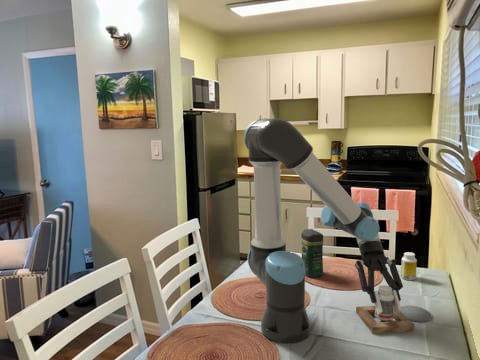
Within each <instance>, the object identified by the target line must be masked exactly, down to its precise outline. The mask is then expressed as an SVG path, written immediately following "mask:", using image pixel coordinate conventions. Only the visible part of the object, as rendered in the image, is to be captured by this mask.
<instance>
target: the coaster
mask: <svg viewBox="0 0 480 360" xmlns="http://www.w3.org/2000/svg"><path fill="white" fill-rule="evenodd" d="M401 309H402V311H401V312H402V313H403V314H404V315H405V316H406V317H407V318H408V319H409V320H410V321H411V322H416V323H417V322H418V323H425V322H429V321H430V320H431V319H432V314H431V312H430V311H429V310H427V309H425V308H423V307H421V306H417V305H416V306H415V305H403V306H402V305H401Z"/></svg>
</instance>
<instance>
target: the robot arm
mask: <svg viewBox="0 0 480 360" xmlns="http://www.w3.org/2000/svg"><path fill="white" fill-rule="evenodd" d="M243 140H244V145H245V147H246V149H247V150H248V162H249V164H250V165H251V166H252V167H253V191H254V192H253V195H254V230H255V231H254V232H255V235H254V236H255V237H253V239H251V241H250V249H249V250H248V251H247V252H248V253H247V264H248V267H249V269H250V270H251V273H252V274H253V275H255V276H256V277H257V278H258V279H259V281H260V282H261V283H262V284H263V285H264V286H265V289H266V290H265V291H266V295H265V296H266V306H265V308H264V312H263V315H262V317H261V321H260V331H261V333H262V334H263V336H264V337H266V338H267V339H269V340H270V341H271V340H272V341H274V342H278V343H284V344H285V343H286V344H287V343H288V344H291V343H297V342H300V341H304V340H305V339H307V338H308V337H309V335H310V333H311V322H310V319H309V315H308V313H307V310H306V307H305V298H306V293H305V292H306V291H305V290H306V286H305V285H306V275H305V265H304V261H303V259H302V256H301V255H299V254H297V253H294V252H291V251H288V250H287V246H286V245H287V242H286V239H284V238H283V237H282V211H281V210H282V209H281V207H282V205H281V203H282V201H281V200H282V199H281V165H282V164H283V166H285V167H286V169H288V170H293V171H294V172H295V174H296V175H298V176H299V178H300V179H301V180H302V181H303V182H304V183H305V184H306V185H307V186H308V188H309V189H310V190H311V191H312V192H313V193H314V194H315V196H317V198H318V199H319V200H320V202H322V203H323V204H324V206H323V208H322V210H321V214H320V219H321V222H322V224H323V225H324V226H326V227H330V228H337V229H339V230H341V231H343V232H345V233H347V234H349V235H351V236H353V237H355V238H356V242H357V245H358V248H359V253H360V255H361V256H360V257H361V259H360V260H356V261H355V263H354V267H355V268H356V270H357V274H358V277H359V278H358V279H359V283H360V288H361V291H362V292H363V293H367V294H368V295H369V298H370V301H371V303H372V304H374V306H375V307H376V311H377V315H379V314H381V313H382V312H383V310H382V307H381V303H380V300H379V296H378V291H377V290H375V272H379V273H380V275H382V277H383V278H384V280H385V282H386V284H387V286H389V287H391V288H392V295H393V296H394V304H393V305H394V308H395V311H396V314H399V313H400V312H401V311H402V309H401V307H402V305H401V303H400V302H401V301H402V298H401V295H400V293H399V291H401V290H402V289H403V288H404V284H403V282H402V279H401V275H400V274H399V271H398V268H397V266H396V265H397V260H396V259H394V258H393V259H388V258H387V256H386V255H385V252H384V247H383V245H382V242H381V237H380V234H379V233H380V225H379V222H378V220H377V219H376V218H374V214H373V212H372V210H371V208H370V205H369V204H368V203H367V202H357V203H356V201H355V200H354V199H353V198H352V197H351V196H350V195H349V193H348V192H347V191H346V190H345V189H344V188H343V186H342V185H341V184H340V183H339V182H338V180H336V178H335V177H334V176H333V174H331V172H330V171H329V170H328V169H327V167H325V166H324V164H323V163H322V162H321V161H320V159H319V158H318V157H317V156H316V155H315V154H314V147H313V146H312V145H311V144H310V143H309V142H308V140H307V139H306V138H305V137H304V135H303V134H302V133H301V132H300V131H299V130H298V128H297V127H295V126H294V125H293V124H291V122H289V121H288V120H285V119H283V118H276V117H275V118H259V119H257V120H254V121H253V122H251V123H250V124H249V125H248V126H247V128H246V129H245V131H244V136H243ZM386 264H387V266H386ZM364 267H366V268H367V277H366V273H365V268H364ZM388 269H389V270H388ZM389 271H390V272H389Z"/></svg>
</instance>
